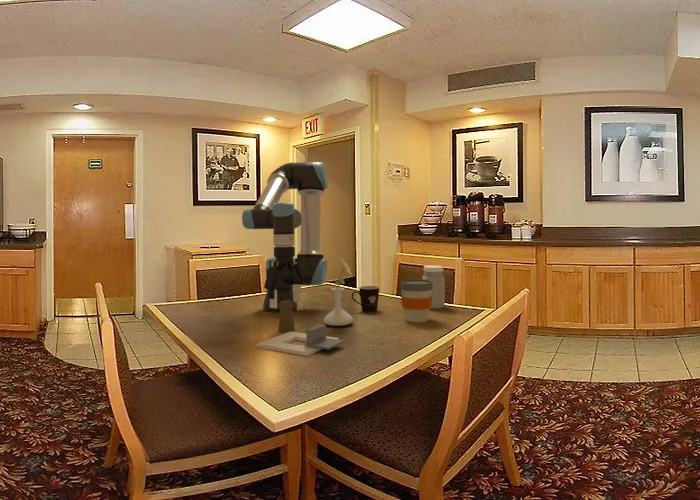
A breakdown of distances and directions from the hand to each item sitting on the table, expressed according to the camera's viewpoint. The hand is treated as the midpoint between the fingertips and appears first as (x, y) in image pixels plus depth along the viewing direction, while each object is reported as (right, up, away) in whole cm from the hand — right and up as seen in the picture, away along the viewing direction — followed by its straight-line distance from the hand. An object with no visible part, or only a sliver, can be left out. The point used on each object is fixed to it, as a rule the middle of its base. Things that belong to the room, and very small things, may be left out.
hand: (285, 304), depth 181 cm
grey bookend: (+15, -10, -23) cm, 29 cm away
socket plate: (+6, -11, -18) cm, 22 cm away
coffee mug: (+30, -6, +33) cm, 45 cm away
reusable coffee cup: (+49, -8, +15) cm, 52 cm away
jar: (+60, -5, +37) cm, 71 cm away
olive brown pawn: (0, -10, +1) cm, 10 cm away
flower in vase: (+19, -9, +10) cm, 23 cm away
